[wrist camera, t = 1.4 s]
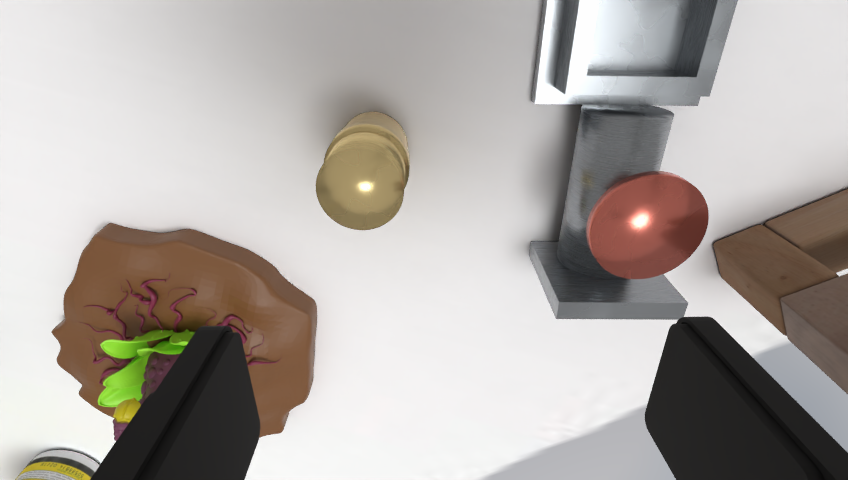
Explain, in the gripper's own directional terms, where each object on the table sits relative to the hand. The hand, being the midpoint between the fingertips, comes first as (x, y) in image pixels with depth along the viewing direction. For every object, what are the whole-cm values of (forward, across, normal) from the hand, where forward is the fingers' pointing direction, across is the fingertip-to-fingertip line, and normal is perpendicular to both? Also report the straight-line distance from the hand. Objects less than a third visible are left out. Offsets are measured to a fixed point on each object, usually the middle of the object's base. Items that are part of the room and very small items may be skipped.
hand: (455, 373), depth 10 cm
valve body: (+22, -12, -2) cm, 25 cm away
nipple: (+22, +3, +1) cm, 22 cm away
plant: (+23, +19, +16) cm, 34 cm away
